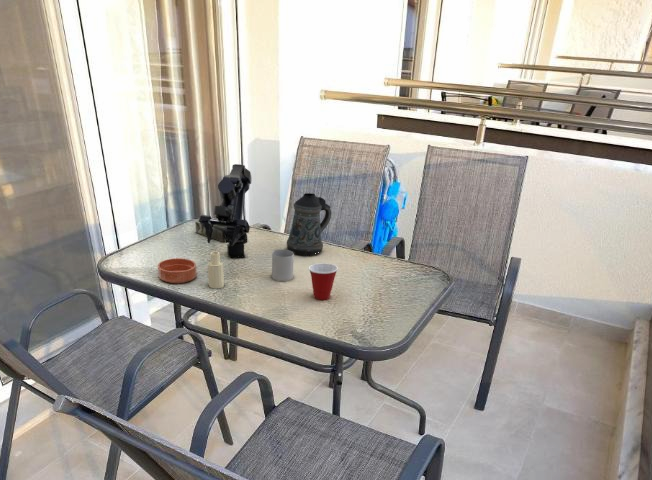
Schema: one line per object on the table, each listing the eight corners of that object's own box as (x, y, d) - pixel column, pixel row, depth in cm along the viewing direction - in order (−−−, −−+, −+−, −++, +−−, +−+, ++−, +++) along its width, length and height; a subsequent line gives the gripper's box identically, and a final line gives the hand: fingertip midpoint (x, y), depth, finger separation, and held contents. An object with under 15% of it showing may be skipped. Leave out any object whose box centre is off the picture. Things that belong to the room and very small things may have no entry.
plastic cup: (321, 288, 195) (323, 259, 189) (341, 298, 189) (344, 267, 183) (300, 295, 189) (302, 265, 182) (321, 305, 182) (323, 274, 176)
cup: (296, 275, 205) (297, 252, 199) (287, 282, 198) (287, 258, 193) (278, 271, 207) (278, 248, 202) (268, 278, 201) (268, 254, 196)
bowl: (193, 268, 204) (193, 257, 202) (199, 282, 193) (198, 270, 191) (157, 271, 200) (156, 259, 197) (160, 285, 189) (159, 273, 186)
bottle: (222, 282, 195) (221, 249, 188) (225, 287, 191) (223, 255, 184) (207, 283, 193) (205, 250, 186) (210, 289, 189) (208, 256, 182)
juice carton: (193, 232, 242) (192, 219, 239) (208, 228, 249) (207, 215, 246) (223, 243, 233) (222, 230, 229) (238, 238, 240) (237, 225, 236)
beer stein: (279, 250, 228) (280, 194, 215) (304, 240, 242) (306, 186, 229) (308, 259, 221) (312, 201, 208) (333, 248, 235) (337, 193, 222)
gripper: (198, 193, 188) (189, 231, 185) (247, 198, 186) (239, 237, 183) (207, 208, 199) (199, 245, 196) (253, 213, 197) (245, 250, 194)
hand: (220, 244), depth 192 cm, fingers open, 9 cm apart
